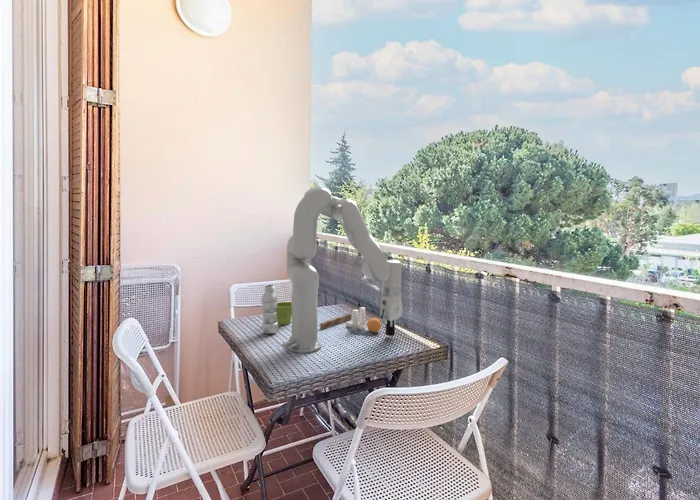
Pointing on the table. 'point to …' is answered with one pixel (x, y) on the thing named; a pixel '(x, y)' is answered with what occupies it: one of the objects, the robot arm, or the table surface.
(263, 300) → the plastic bottle
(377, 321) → the ball
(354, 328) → the pin
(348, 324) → the front pin
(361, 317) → the pin
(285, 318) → the plant pot
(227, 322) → the table surface
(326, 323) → the bar
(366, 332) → the pin spot mat
